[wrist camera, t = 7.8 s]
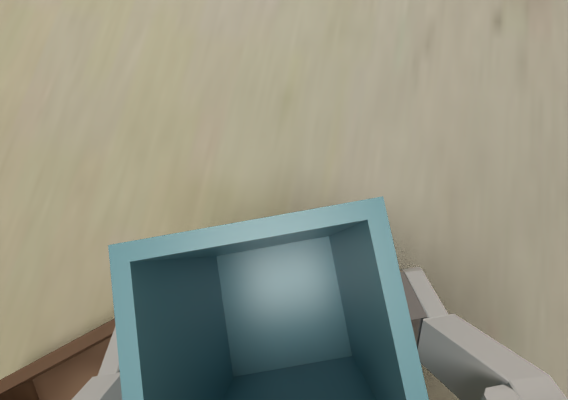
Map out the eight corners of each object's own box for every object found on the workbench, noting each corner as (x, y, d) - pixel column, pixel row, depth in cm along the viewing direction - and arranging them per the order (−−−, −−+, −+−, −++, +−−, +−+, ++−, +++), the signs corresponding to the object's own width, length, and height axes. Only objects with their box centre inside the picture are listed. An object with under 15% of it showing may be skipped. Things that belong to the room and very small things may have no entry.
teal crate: (361, 359, 14) (453, 509, 6) (227, 383, 14) (136, 563, 6) (334, 226, 15) (382, 197, 7) (209, 248, 15) (107, 245, 7)
